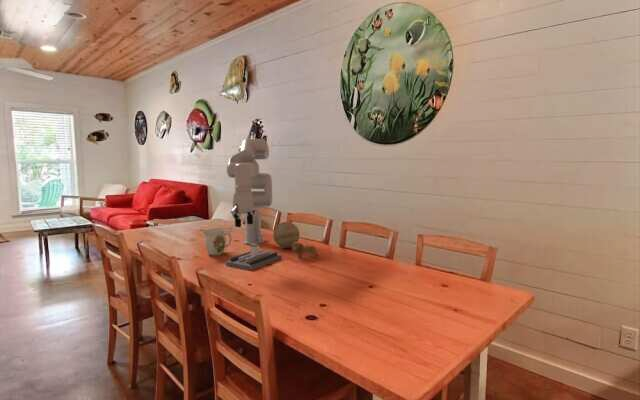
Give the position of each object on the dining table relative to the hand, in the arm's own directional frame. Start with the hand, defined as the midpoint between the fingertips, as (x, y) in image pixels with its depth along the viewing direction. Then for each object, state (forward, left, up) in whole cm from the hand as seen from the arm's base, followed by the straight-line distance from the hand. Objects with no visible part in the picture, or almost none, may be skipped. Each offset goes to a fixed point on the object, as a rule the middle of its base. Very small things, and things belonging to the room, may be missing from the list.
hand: (244, 225), depth 185 cm
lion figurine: (-25, +18, -20) cm, 37 cm away
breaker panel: (-7, 0, -20) cm, 21 cm away
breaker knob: (-7, 0, -18) cm, 19 cm away
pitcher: (-9, -28, -20) cm, 36 cm away
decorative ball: (-39, -3, -20) cm, 44 cm away
